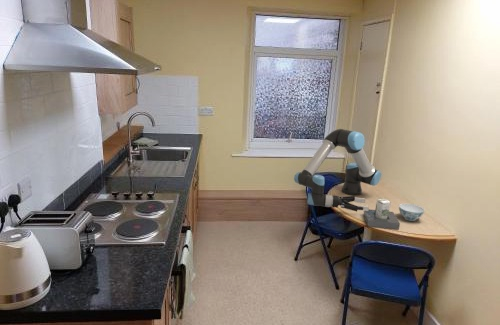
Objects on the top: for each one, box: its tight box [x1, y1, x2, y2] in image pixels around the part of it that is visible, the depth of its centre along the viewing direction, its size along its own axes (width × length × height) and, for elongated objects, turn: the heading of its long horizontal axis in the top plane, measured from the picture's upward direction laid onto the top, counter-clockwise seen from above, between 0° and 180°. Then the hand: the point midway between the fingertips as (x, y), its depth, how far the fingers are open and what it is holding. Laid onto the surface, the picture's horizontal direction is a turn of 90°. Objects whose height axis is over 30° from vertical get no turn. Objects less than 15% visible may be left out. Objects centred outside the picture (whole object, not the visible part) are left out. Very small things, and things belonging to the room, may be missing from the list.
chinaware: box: [398, 202, 425, 222], centre depth 223 cm, size 15×15×8 cm
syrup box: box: [374, 198, 391, 219], centre depth 215 cm, size 6×6×14 cm
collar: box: [363, 209, 401, 230], centre depth 217 cm, size 18×18×4 cm
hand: (366, 204), depth 216 cm, fingers open, 13 cm apart
